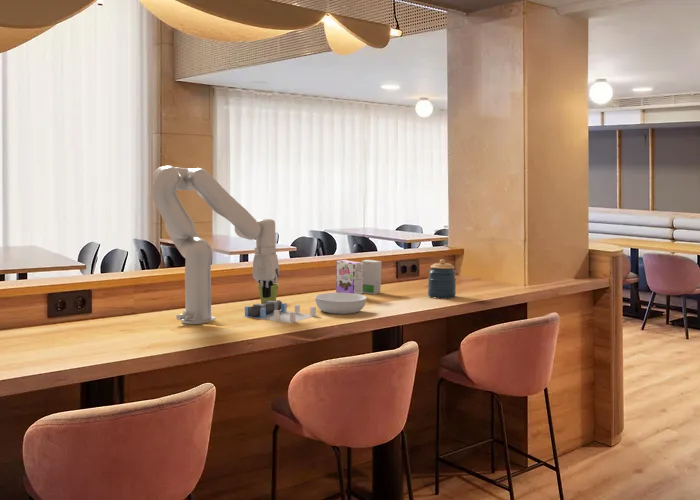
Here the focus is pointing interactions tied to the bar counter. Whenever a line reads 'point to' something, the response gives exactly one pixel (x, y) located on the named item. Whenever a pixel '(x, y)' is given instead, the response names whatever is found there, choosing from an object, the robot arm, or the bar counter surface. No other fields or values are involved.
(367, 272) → the skincare box
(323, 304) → the serving bowl
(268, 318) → the blue grey peg board
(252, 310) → the dark grey rounded bar
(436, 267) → the canister
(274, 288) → the plant pot
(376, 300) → the bar counter surface
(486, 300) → the bar counter surface
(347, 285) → the candy box
